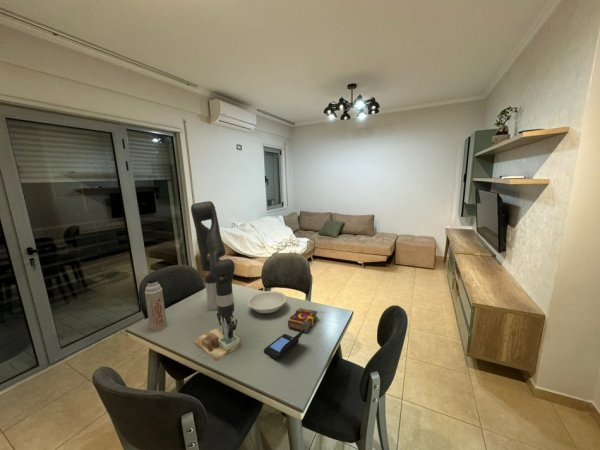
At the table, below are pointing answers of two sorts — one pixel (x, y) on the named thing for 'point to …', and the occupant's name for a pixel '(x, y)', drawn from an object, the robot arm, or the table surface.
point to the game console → (282, 345)
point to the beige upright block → (209, 340)
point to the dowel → (226, 333)
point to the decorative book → (302, 319)
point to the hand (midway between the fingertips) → (228, 335)
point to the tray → (228, 345)
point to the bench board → (216, 351)
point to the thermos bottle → (155, 306)
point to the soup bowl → (267, 301)
